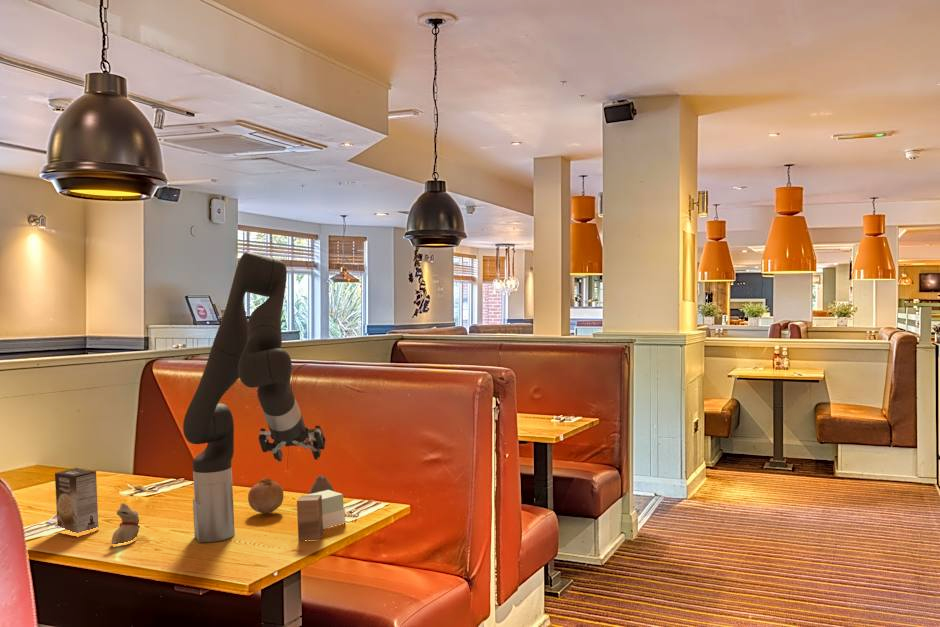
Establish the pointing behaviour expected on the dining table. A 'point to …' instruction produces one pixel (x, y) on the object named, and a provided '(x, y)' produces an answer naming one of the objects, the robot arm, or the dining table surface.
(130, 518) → the chocolate bunny
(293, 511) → the dining table surface
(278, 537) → the dining table surface
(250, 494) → the onion
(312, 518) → the column
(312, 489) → the vase
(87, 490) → the coffee box
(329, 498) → the tower mid
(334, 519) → the tower base
